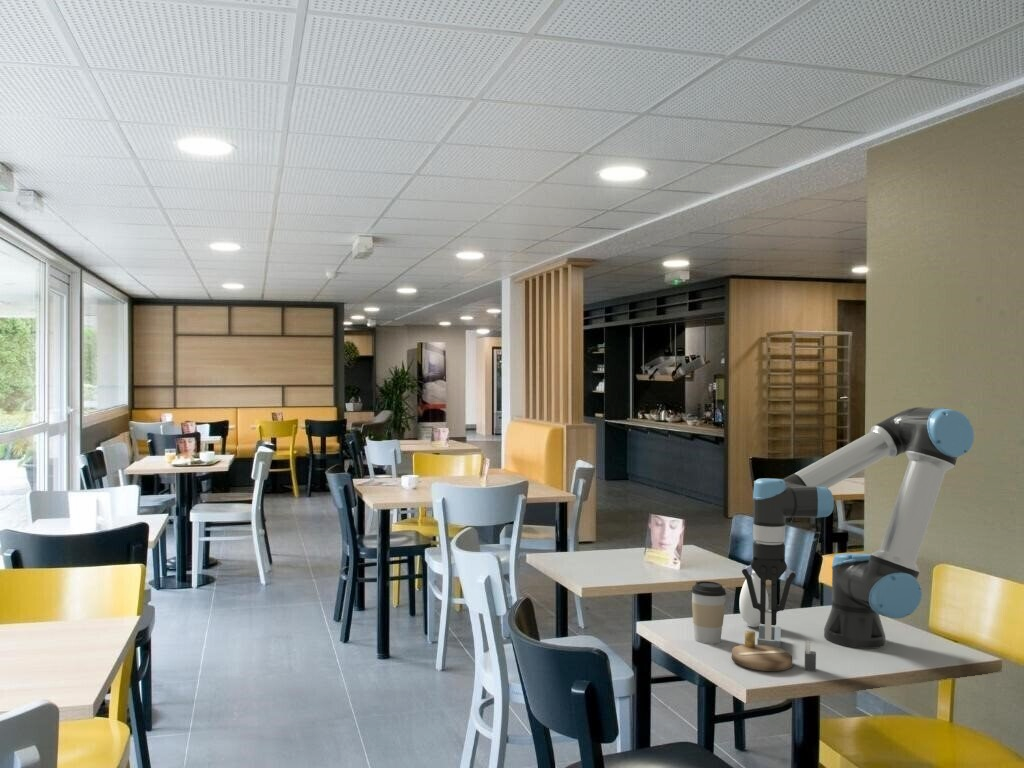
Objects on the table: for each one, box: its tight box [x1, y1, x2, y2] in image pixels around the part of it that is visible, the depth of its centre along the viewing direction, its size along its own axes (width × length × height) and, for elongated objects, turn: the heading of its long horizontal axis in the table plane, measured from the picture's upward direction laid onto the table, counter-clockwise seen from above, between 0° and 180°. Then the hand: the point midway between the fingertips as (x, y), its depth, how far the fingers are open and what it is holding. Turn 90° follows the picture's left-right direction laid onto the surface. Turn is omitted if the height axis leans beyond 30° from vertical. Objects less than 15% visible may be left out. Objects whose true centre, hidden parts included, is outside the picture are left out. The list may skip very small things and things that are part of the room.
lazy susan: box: [731, 630, 793, 672], centre depth 202 cm, size 14×14×5 cm
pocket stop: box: [757, 624, 782, 649], centre depth 216 cm, size 6×14×4 cm, turn 162°
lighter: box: [804, 640, 817, 672], centre depth 198 cm, size 2×3×7 cm
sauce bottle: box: [738, 570, 769, 628], centre depth 234 cm, size 8×8×18 cm
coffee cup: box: [690, 580, 727, 645], centre depth 220 cm, size 9×9×15 cm
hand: (768, 637), depth 206 cm, fingers closed
